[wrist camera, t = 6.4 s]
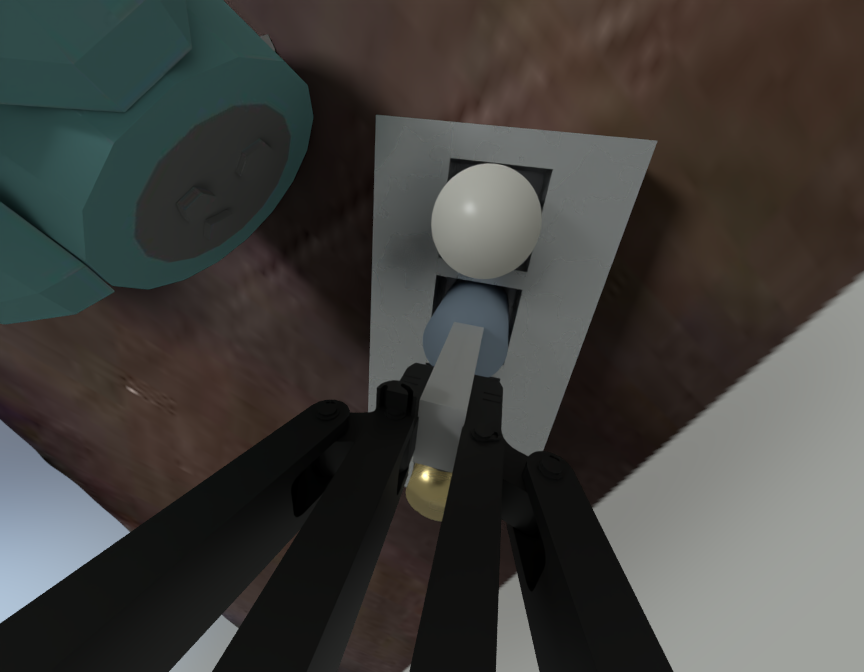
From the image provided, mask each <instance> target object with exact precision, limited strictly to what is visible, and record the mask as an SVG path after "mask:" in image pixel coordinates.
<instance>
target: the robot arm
mask: <svg viewBox="0 0 864 672" xmlns="http://www.w3.org/2000/svg"><path fill="white" fill-rule="evenodd" d="M483 330H484V327H479V326H473V325H468V324H463V323H458V322H454V323H453V325H452V328H451V330H450V332H449V335H448V337H447V339H446V341H445V344H444V346H443V348H442V350H441V353H440V355H439V357H438V359H437V362H436V364H435V366H429V365H425V364H420V363H414V364H412V365H411V366H409V367H407V369H406V371H405V372H404V374H403V376H402V377H401V379H400V381H399V380H392V381H386V382H384V383H381V384H380V385H379V386H378V387H377V393H376V409H375V410H374V411H372V412H366V413H350V410H349V408H348V406H347V405H346V404H345V403H343V402H341V401H337V400H324V401H320V402H317V403H315V404H313V405H312V406H310V407H309V408H307V409H306V410H304V411H303V412H302V413H300V414H299V415H297V416H296V417H294V418H293V419H292V420H290V421H289V422H287V423H286V424H284V425H283V426H282V427H280V428H279V429H277V430H276V431H274V432H273V433H272V434H270V435H269V436H267V437H266V438H264V439H263V440H262V441H260V442H259V443H257V444H256V445H254V446H253V447H252V448H250V449H249V450H247V451H246V452H244V453H243V454H242V455H240V456H239V457H237V458H236V459H234V460H233V461H232V462H230V463H229V464H227V465H226V466H224V467H223V468H222V469H220V470H219V471H217V472H216V473H214V474H213V475H212V476H210V477H209V478H207V479H206V480H204V481H203V482H202V483H200V484H199V485H197V486H196V487H194V488H193V489H192V490H190V491H189V492H187V493H186V494H184V495H183V496H182V497H180V498H179V499H177V500H176V501H174V502H173V503H172V504H170V505H169V506H167V507H166V508H164V509H163V510H162V511H160V512H159V513H157V514H156V515H154V516H153V517H152V518H150V519H149V520H147V521H146V522H144V523H143V524H142V525H140V526H139V527H137V528H136V529H134V530H133V531H132V532H130V533H129V534H127V535H126V536H125V537H123V538H122V539H120V540H119V541H117V542H116V543H114V544H113V545H112V546H110V547H109V548H107V549H106V550H104V551H103V552H102V553H100V554H99V555H98V556H96V557H94V558H93V559H92V560H90V561H89V562H87V563H86V564H84V565H83V566H82V567H80V568H79V569H77V570H76V571H74V572H73V573H72V574H70V575H69V576H67V577H66V578H65V579H63V580H62V581H60V582H59V583H57V584H56V585H55V586H53V587H52V588H50V589H49V590H47V591H46V592H45V593H43V594H42V595H40V596H39V597H37V598H36V599H35V600H33V601H32V602H30V603H29V604H28V605H26V606H25V607H23V608H22V609H20V610H19V611H17V612H16V613H14V614H13V615H12V616H10V617H9V618H7V619H6V620H4V621H3V622H2V623H0V672H169V671H170V670H171V669H172V668H173V667H174V665H175V664H176V663H177V662H178V661H179V660H180V659H181V658H182V657H183V656H184V655H185V653H186V652H187V651H188V650H189V649H190V648H191V647H192V646H193V645H194V644H195V643H196V642H197V641H198V639H199V638H200V637H201V636H202V635H203V634H204V633H205V632H206V631H207V629H209V628H210V626H211V625H212V624H213V623H214V622H215V621H216V620H217V619H218V618H219V617H220V616H221V615H222V613H223V612H224V611H225V610H226V609H227V608H228V607H229V606H230V605H231V604H232V603H233V602H234V600H235V599H236V598H237V597H238V596H239V595H240V594H241V593H242V592H243V591H244V590H245V589H246V587H247V586H248V585H249V584H250V583H251V582H252V581H253V580H254V579H255V578H256V577H257V576H258V574H259V573H260V572H261V571H262V570H263V569H264V568H265V567H266V566H267V565H268V564H269V563H270V561H271V560H272V559H273V558H274V557H275V556H276V555H277V554H278V553H279V552H280V551H281V550H282V548H283V547H284V546H285V545H286V544H287V543H288V542H289V541H290V540H291V539H292V538H293V537H294V535H295V534H296V533H297V532H298V531H299V530H300V531H299V533H298V534H297V536H296V538H295V539H294V541H293V542H292V544H291V546H290V547H289V549H288V550H287V552H286V554H285V555H284V557H283V558H282V560H281V562H280V563H279V565H278V566H277V568H276V570H275V571H274V573H273V574H272V576H271V578H270V579H269V581H268V583H267V584H266V586H265V587H264V589H263V591H262V592H261V594H260V595H259V597H258V599H257V600H256V602H255V603H254V605H253V607H252V608H251V610H250V611H249V613H248V615H247V616H246V618H245V620H244V621H243V623H242V624H241V626H240V628H239V629H238V631H237V632H236V634H235V636H234V637H233V639H232V640H231V642H230V644H229V645H228V647H227V648H226V650H225V652H224V653H223V655H222V657H221V658H220V660H219V662H218V663H217V665H216V666H215V668H214V670H213V671H212V672H337V671H338V668H339V665H340V662H341V659H342V657H343V654H344V651H345V648H346V646H347V643H348V640H349V637H350V635H351V632H352V629H353V626H354V624H355V621H356V618H357V615H358V612H359V610H360V607H361V604H362V601H363V599H364V596H365V593H366V590H367V588H368V585H369V582H370V579H371V577H372V574H373V571H374V568H375V565H376V563H377V560H378V557H379V554H380V552H381V549H382V546H383V543H384V541H385V538H386V535H387V532H388V530H389V527H390V524H391V521H392V518H393V516H394V513H395V510H396V507H397V505H398V502H399V499H400V496H401V494H402V491H403V488H404V485H405V483H406V480H407V477H408V473H409V464H410V462H411V459H412V456H413V461H412V462H414V463H418V464H422V465H425V466H429V467H433V468H437V469H440V470H444V471H448V472H451V473H452V476H451V481H450V486H449V490H448V495H447V500H446V504H445V509H444V514H443V518H442V523H441V527H440V532H439V537H438V541H437V546H436V551H435V555H434V560H433V565H432V569H431V574H430V579H429V583H428V588H427V593H426V597H425V602H424V607H423V611H422V616H421V620H420V625H419V630H418V634H417V639H416V644H415V648H414V653H413V658H412V662H411V667H410V672H496V651H497V648H496V647H497V622H498V594H499V566H500V538H501V519H502V520H504V521H505V522H507V529H508V533H509V538H510V542H511V547H512V551H513V556H514V560H515V565H516V569H517V573H518V578H519V582H520V587H521V591H522V596H523V600H524V605H525V609H526V614H527V618H528V622H529V627H530V631H531V636H532V640H533V644H534V649H535V654H536V658H537V663H538V666H539V671H540V672H673V670H672V668H671V666H670V664H669V662H668V660H667V658H666V656H665V654H664V652H663V650H662V648H661V646H660V644H659V642H658V640H657V638H656V636H655V634H654V632H653V630H652V628H651V626H650V624H649V622H648V620H647V618H646V616H645V614H644V612H643V610H642V608H641V606H640V604H639V602H638V599H637V597H636V596H635V593H634V591H633V589H632V587H631V585H630V583H629V582H628V579H627V577H626V575H625V574H624V571H623V569H622V567H621V565H620V563H619V561H618V559H617V558H616V555H615V553H614V551H613V549H612V547H611V545H610V543H609V541H608V539H607V537H606V535H605V533H604V531H603V529H602V527H601V525H600V523H599V521H598V519H597V517H596V515H595V513H594V511H593V509H592V507H591V505H590V503H589V501H588V499H587V497H586V495H585V493H584V491H583V489H582V487H581V485H580V483H579V481H578V479H577V477H576V475H575V473H574V471H573V469H572V468H571V467H570V465H569V464H568V463H567V462H566V461H565V460H563V459H562V458H561V457H559V456H557V455H555V454H553V453H550V452H546V451H536V452H534V453H532V454H530V455H529V456H527V455H525V454H523V453H521V452H519V451H518V450H516V449H514V448H513V447H512V446H510V445H509V444H508V443H507V441H506V440H505V439H504V437H503V434H502V430H501V427H502V403H503V387H502V385H501V383H500V382H499V380H497V379H493V378H488V377H483V376H479V375H474V374H475V369H476V364H477V359H478V355H479V350H480V345H481V340H482V335H483Z"/></svg>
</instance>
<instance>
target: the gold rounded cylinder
mask: <svg viewBox="0 0 864 672" xmlns="http://www.w3.org/2000/svg"><path fill="white" fill-rule="evenodd" d="M451 476H452V473H450V472H444V471H440V470H437V469H434V468H432V467H429V466H425V465H422V464H418V463H415V465H414V468H413V471H412V474H411V477H410V480H409V482H408V485H407V488H406V497H407V500H408V502H409V503H410V505H411V506H412V507H413V508H414V509H415V510H416V511H417V512H418V513H420V514H421V515H423V516H425V517H427V518H429V519H432V520H436V521H442V518H443V514H444V509H445V504H446V500H447V495H448V490H449V486H450V481H451Z"/></svg>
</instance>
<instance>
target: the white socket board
mask: <svg viewBox="0 0 864 672" xmlns="http://www.w3.org/2000/svg"><path fill="white" fill-rule="evenodd" d="M656 143H657V141H653V140H643V139H632V138H621V137H610V136H600V135H589V134H578V133H567V132H557V131H546V130H535V129H524V128H514V127H503V126H492V125H481V124H471V123H460V122H449V121H438V120H428V119H417V118H406V117H395V116H385V115H376V132H375V171H374V210H373V248H372V287H371V326H370V364H369V403H368V412H372V411H374V410H375V409H376V393H377V387H378V386H379V385H380V384H381V383H384V382H386V381H392V380H399V381H400V379H401V377H402V376H403V374H404V372H405V371H406V369H407V367H409V366H411V365H412V364H414V363H420V364H425V365H429V366H432V365H431V364H430V363H429V361H428V359H427V358H426V355H425V353H424V349H423V334H424V330H425V328H426V326H427V324H428V322H429V320H430V319H431V317H432V316H433V314H434V313H435V311H436V309H437V308H438V306H439V305H440V303H441V301H442V300H443V298H444V297H445V295H446V293H447V292H448V290H449V289H450V287H451V286H452V285H453V284H454V283H456V282H457V281H458V280H460V279H463V280H469V281H474V282H480V283H486V284H492V285H498V286H501V287H502V289H503V290H504V291H505V293H506V295H507V298H508V303H509V322H508V352H507V356H506V359H505V361H504V363H503V365H502V366H501V368H500V369H499V370H498V371H497V372H496V373H495V374H494V375H492V376H490V377H489V378H493V379H497V380H499V382H500V383H501V385H502V387H503V403H502V427H501V430H502V434H503V437H504V439H505V440H506V441H507V443H508V444H509V445H510V446H512V447H513V448H514V449H516V450H518V451H519V452H521V453H523V454H525V455H527V456H529V455H530V454H532V453H534V452H536V451H543V450H544V447H545V444H546V442H547V439H548V436H549V434H550V431H551V428H552V425H553V423H554V420H555V417H556V415H557V412H558V409H559V406H560V404H561V401H562V398H563V396H564V393H565V390H566V387H567V385H568V382H569V379H570V377H571V374H572V371H573V368H574V366H575V363H576V360H577V358H578V355H579V352H580V349H581V347H582V344H583V341H584V339H585V336H586V333H587V330H588V328H589V325H590V322H591V320H592V317H593V314H594V311H595V309H596V306H597V303H598V301H599V298H600V295H601V292H602V290H603V287H604V284H605V282H606V279H607V276H608V274H609V271H610V268H611V265H612V263H613V260H614V257H615V255H616V252H617V249H618V246H619V244H620V241H621V238H622V236H623V233H624V230H625V227H626V225H627V222H628V219H629V217H630V214H631V211H632V208H633V206H634V203H635V200H636V198H637V195H638V192H639V189H640V187H641V184H642V181H643V179H644V176H645V173H646V170H647V168H648V165H649V162H650V160H651V157H652V154H653V151H654V149H655V146H656ZM487 163H489V164H499V165H504V166H507V167H509V168H511V169H513V170H515V171H517V172H518V173H520V174H521V175H522V176H524V177H525V178H526V179H527V180H528V181H529V183H530V184H531V186H532V187H533V188H534V190H535V192H536V194H537V196H538V199H539V202H540V207H541V214H542V223H541V230H540V235H539V238H538V241H537V243H536V245H535V247H534V249H533V251H532V252H531V254H530V255H529V256H528V258H527V259H526V260H525V261H524V262H523V263H522V264H521V265H520V266H519V267H517V268H516V269H515V270H513V271H511V272H509V273H507V274H505V275H503V276H500V277H496V278H491V279H477V278H471V277H468V276H465V275H462V274H461V273H459V272H457V271H455V270H454V269H453V268H451V267H450V266H449V265H448V264H447V263H446V262H445V261H444V260H443V258H442V257H441V255H440V254H439V252H438V250H437V248H436V246H435V243H434V240H433V236H432V228H431V221H432V213H433V208H434V205H435V202H436V200H437V197H438V195H439V194H440V192H441V190H442V189H443V188H444V186H445V185H446V184H447V183H448V182H449V181H450V180H451V179H452V178H453V177H454V176H455V175H457V174H458V173H459V172H461V171H463V170H465V169H467V168H469V167H472V166H475V165H479V164H487ZM412 461H413V456H412V459H411V462H410V464H409V473H408V477H407V480H406V483H405V485H404V486H405V487H407V485H408V482H409V480H410V477H411V474H412V471H413V468H414V465H415V463H414V462H412Z"/></svg>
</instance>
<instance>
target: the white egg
mask: <svg viewBox="0 0 864 672" xmlns="http://www.w3.org/2000/svg"><path fill="white" fill-rule="evenodd" d="M541 223H542V214H541V207H540V202H539V199H538V196H537V194H536V192H535V190H534V188H533V187H532V186H531V184H530V183H529V181H528V180H527V179H526V178H525V177H524V176H522V175H521V174H520V173H518V172H517V171H515V170H513V169H511V168H509V167H507V166H504V165H499V164H489V163H487V164H479V165H475V166H472V167H469V168H467V169H465V170H463V171H461V172H459V173H458V174H457V175H455V176H454V177H453V178H452V179H451V180H450V181H449V182H448V183H447V184H446V185H445V186H444V188H443V189H442V190H441V192H440V194H439V195H438V197H437V200H436V202H435V205H434V208H433V213H432V221H431V228H432V236H433V240H434V243H435V246H436V248H437V250H438V252H439V254H440V255H441V257H442V258H443V260H444V261H445V262H446V263H447V264H448V265H449V266H450V267H451V268H453V269H454V270H455V271H457V272H459V273H461V274H462V275H465V276H468V277H471V278H477V279H491V278H496V277H500V276H503V275H505V274H507V273H509V272H511V271H513V270H515V269H516V268H517V267H519V266H520V265H521V264H522V263H523V262H524V261H525V260H526V259H527V258H528V256H529V255H530V254H531V252H532V251H533V249H534V247H535V245H536V243H537V241H538V238H539V235H540V230H541Z"/></svg>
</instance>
